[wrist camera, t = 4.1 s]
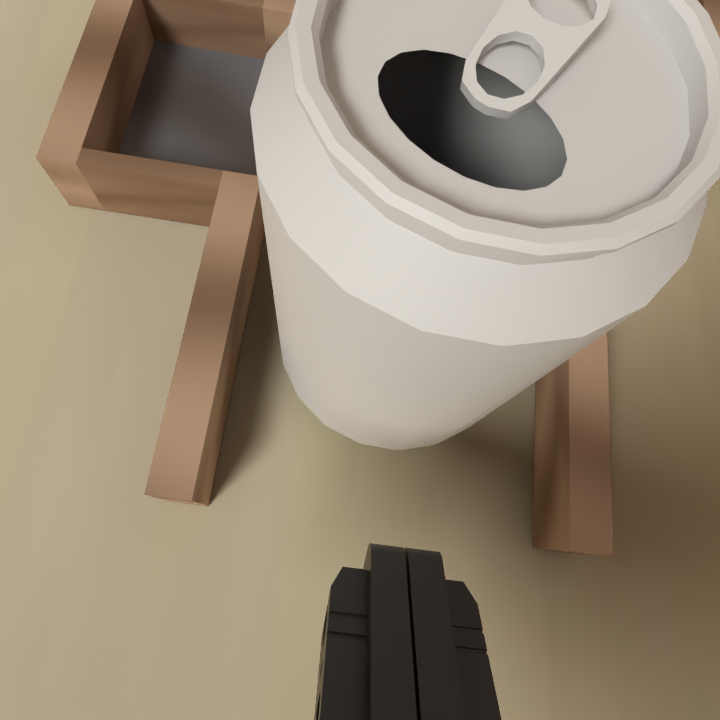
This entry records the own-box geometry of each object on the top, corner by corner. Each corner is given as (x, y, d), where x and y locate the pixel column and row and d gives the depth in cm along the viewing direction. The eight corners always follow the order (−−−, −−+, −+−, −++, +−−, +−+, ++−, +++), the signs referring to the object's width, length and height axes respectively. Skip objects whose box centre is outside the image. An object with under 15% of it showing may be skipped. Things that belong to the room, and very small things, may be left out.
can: (233, 361, 18) (102, 48, 6) (367, 210, 20) (446, -219, 9) (419, 503, 17) (650, 430, 6) (537, 327, 19) (872, 21, 8)
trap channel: (743, 575, 17) (959, 593, 11) (-24, 476, 16) (-207, 440, 10) (670, -142, 28) (761, -312, 23) (219, -230, 27) (196, -433, 22)
